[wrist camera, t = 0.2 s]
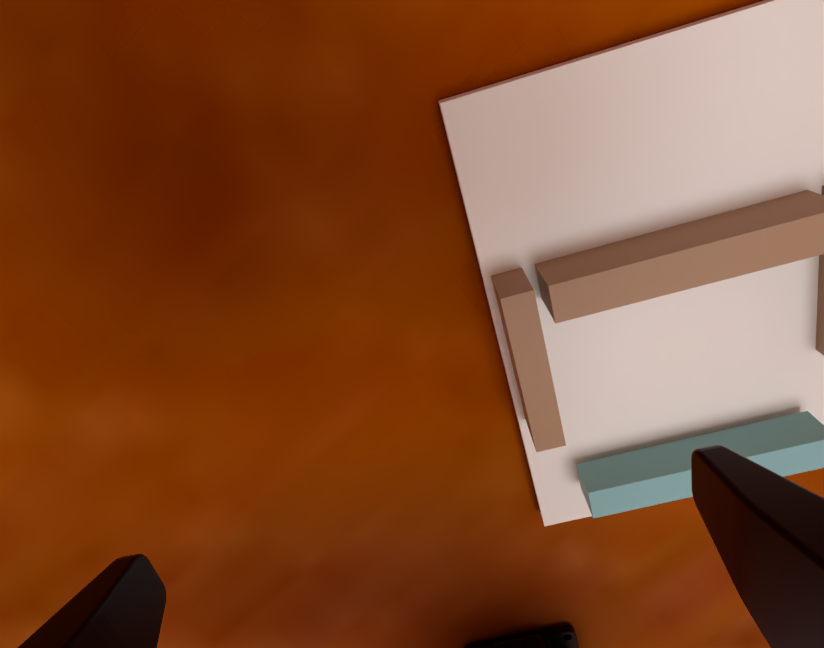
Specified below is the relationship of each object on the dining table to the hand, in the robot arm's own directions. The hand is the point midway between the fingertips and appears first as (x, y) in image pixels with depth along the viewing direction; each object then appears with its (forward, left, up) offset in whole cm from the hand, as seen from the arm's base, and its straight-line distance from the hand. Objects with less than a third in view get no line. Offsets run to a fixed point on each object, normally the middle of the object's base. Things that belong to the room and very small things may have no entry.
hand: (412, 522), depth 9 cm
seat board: (-5, -10, -14) cm, 18 cm away
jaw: (-12, -10, -13) cm, 20 cm away
